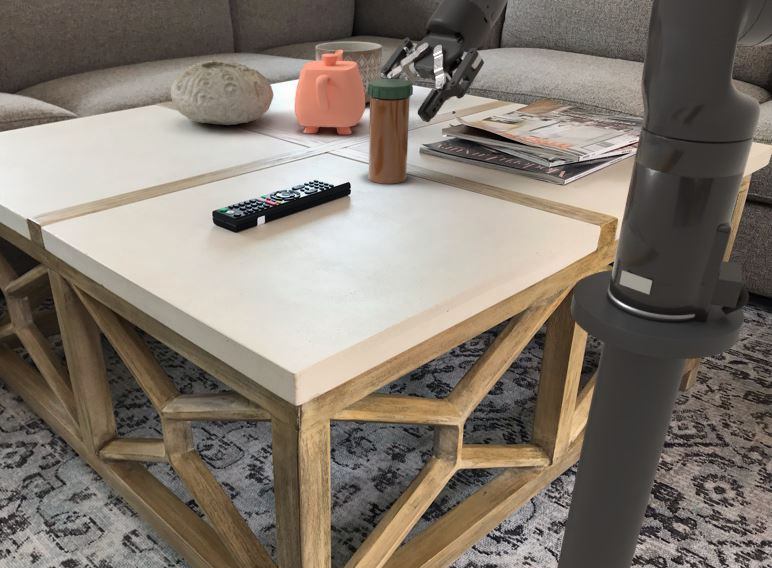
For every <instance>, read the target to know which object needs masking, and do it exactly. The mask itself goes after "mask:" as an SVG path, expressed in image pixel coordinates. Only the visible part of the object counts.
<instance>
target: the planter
mask: <svg viewBox="0 0 772 568" xmlns="http://www.w3.org/2000/svg"><path fill="white" fill-rule="evenodd" d="M314 49H315V61H323V59H322V55H323V54H335V52H336V51H337V50H343V56H342V61H353V62H356V63H357V66H358V69H359V72H360V76H361V79H362V83H363V88H364V94H365V104H367V103H370V96H369V95H368V83H369V82H370V81H372V80H377V79H382V71H381V70H382V60H383V59H382V55H383V53H382V52H383V46H382V45H381V44H380V43H375V42H368V41H332V42H331V41H330V42H323V43H319V44H316V45H315V48H314Z"/></svg>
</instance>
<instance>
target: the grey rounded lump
mask: <svg viewBox="0 0 772 568" xmlns="http://www.w3.org/2000/svg"><path fill="white" fill-rule="evenodd" d="M169 91H170V98H171V99H170V100H171V102H172V104H173V106H174V108H175V109H176V110H177V111H178V113H180V114H181V115H182V116H184V117H186V118H187V119H188V120H191V121H192V122H198V123H203V124H208V125H221V126H232V125H234V126H235V125H239V124H245V123H246V124H247V123H250V122H253V121H256V120H258V119H259V118H261V117H262V116H263V115H264V114H265V113H267V112H268V110H270V107H271V104H272V102H273V99H274V91H273V88H272V85H271V82H270V79H269V78H266V77H265V76H264V75H263V74H262V73H260V71H258V69H254V68H251V67H248V66H246V64H241V63H239V62H235V61H231V60H229V61H217V60H213V59H211V60H210V61H208V60H206V61H205V60H204V61H201V62H197V63H196V64H193V65H190V66H188V67H186V68H185V69H184V70H183V71H181V72H180V73H179V74H176V75H175V79H174V82H173V83H172V85H171V87H170V90H169Z"/></svg>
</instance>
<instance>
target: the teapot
mask: <svg viewBox="0 0 772 568" xmlns="http://www.w3.org/2000/svg"><path fill="white" fill-rule="evenodd" d="M342 56H343V50H337V51H336V52H335V54H323V55H322V59H323V61H316V60H312V61H311V60H310V61H309V62H306V63H305V64H304V65H303V66H302V68H301V70H300V74H299V77H298V81H297V84H296V89H295V97H294V115H295V118H296V120H297V122H298V124H299V125H300V126H303V127H304V126H305V128H304V129H303V133H304V134H316V133H318V131H319V128H320V127H321V128H336V131H337V134H339V135H351V134H352V133H353V132H352V129H351V127H354V126H357V124H358V123H359V122H360V121H361V120H362V118H363V115H364V113H365V111H366V110H365V109H366V103H365V94H364V88H363V83H362V79H361V76H360V72H359V69H358V66H357V63H356V62H353V61H342Z"/></svg>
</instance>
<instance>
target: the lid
mask: <svg viewBox="0 0 772 568" xmlns="http://www.w3.org/2000/svg"><path fill="white" fill-rule="evenodd" d="M413 83H414V82H411V81H409V80H404V79H401V78H400V79H387V78H381V79H377V80H372V81H370V82H369V83H368V95H369V96H371V97H374V98H381V99H400V98H407V97H410V98H411V97H412V95H414V87H413Z"/></svg>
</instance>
